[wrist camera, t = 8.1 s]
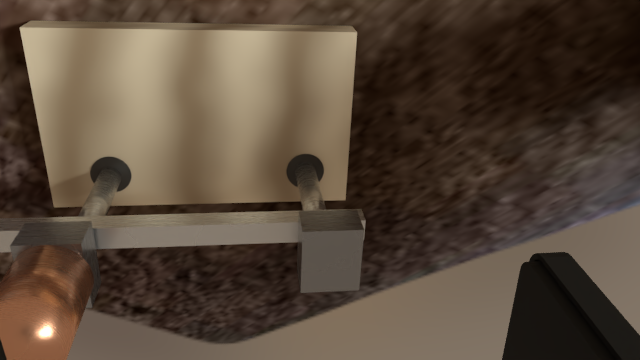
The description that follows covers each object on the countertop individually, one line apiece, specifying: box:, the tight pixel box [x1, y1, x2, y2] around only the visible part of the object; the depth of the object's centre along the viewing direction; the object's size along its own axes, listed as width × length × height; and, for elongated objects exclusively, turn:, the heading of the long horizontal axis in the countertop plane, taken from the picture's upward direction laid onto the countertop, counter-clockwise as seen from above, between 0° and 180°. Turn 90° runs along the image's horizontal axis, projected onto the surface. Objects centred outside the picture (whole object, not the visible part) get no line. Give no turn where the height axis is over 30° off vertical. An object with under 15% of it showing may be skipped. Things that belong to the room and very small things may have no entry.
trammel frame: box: [0, 162, 366, 293], centre depth 33 cm, size 18×4×12 cm, turn 88°
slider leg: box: [0, 167, 121, 360], centre depth 29 cm, size 4×4×18 cm
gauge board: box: [20, 21, 357, 207], centre depth 38 cm, size 20×12×2 cm, turn 88°
